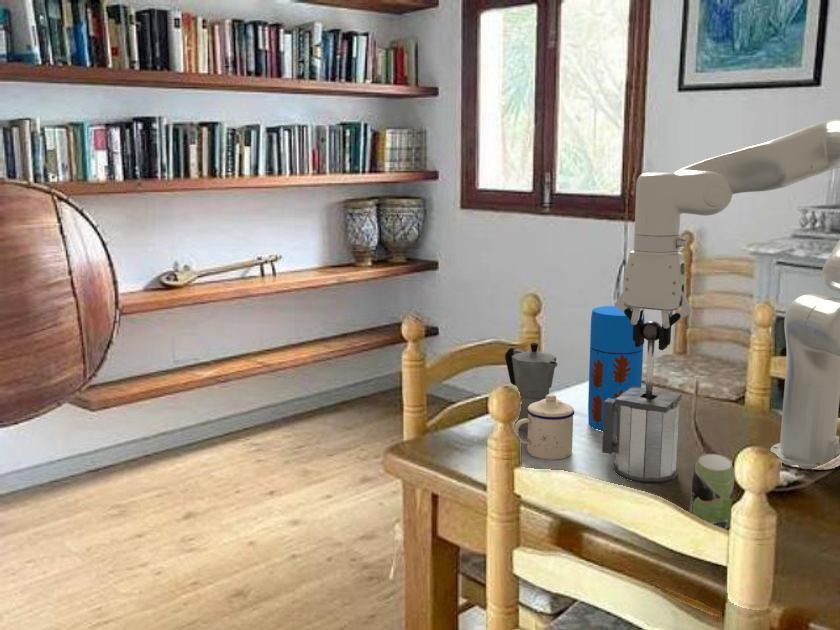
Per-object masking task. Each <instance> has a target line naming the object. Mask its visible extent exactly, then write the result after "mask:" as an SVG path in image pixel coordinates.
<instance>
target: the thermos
mask: <svg viewBox="0 0 840 630" xmlns="http://www.w3.org/2000/svg"><path fill="white" fill-rule="evenodd" d="M631 308H633V307H631ZM642 320H643V322H644V323H645V313H644V314H643V319H642ZM589 337H590V339H589V340H590V341H589V346H590V347H589V366H588V368H589V370H588V372H589V373H588V397H587V398H588V399H587V400H588V401H587V413H588V414H587V416H588V417H587V418H588V426H589V425H590V426H591V427H590V426H589V427H590V428H592V427H593V428H594V429H593V428H592V429H593V430H595V429H598V430H601V431H603V416H604V401H605V400H607V399H608V398H611V399H616V398H617V397H619V396H620V395H621V394H622V393H624V392H625V391H627V390H628V389H630V388H631V387H632V386H633V387H640V388H642V383H643V381H642V380H643V361H644V359H643V358H644V344H643V345H641V346H640V347H635V341H633V324H632V323H631V321H630V319H629V318H628V317H627V316H626V315H625V313H624V312H622V311H621V310H619V309H618V308H617V307H615V305H605V306H604V305H603V306H597V307H594V308H592V309H591V316H590V336H589ZM617 415H618V412H617ZM598 430H597V431H598ZM601 431H600V432H601Z"/></svg>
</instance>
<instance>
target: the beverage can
mask: <svg viewBox="0 0 840 630" xmlns="http://www.w3.org/2000/svg"><path fill="white" fill-rule="evenodd" d="M692 469H693V470H692V480H691V492H690V500H689V501H690V503H689V512H690V513H692V514H694V515H696V516H697V517H699V518H701V519H703V520H706V521H708V522H710V523H712V524H714V525H717V526H719V527H722V528H727V529H729V527H730V523H729V522H730V521H731V514H730V512H731V513H732V504H733V494H734V493H733V492H734V487H735V479H736V475H735V476H734V470H735V468H734V466H733V463H732V461H731V459H729V458H728V457H726V456H724V455H721V454H718V453H705V454H702V455H700V456H699V457H698V459H697V460H696V462H695V463H694V465H693V468H692Z"/></svg>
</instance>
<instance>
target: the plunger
mask: <svg viewBox="0 0 840 630" xmlns="http://www.w3.org/2000/svg"><path fill="white" fill-rule="evenodd" d="M661 327H662V324H660V323H659V322H657V321H655V320H650V321H646V322H644V325H643V327H642V330H641V332H642V335H643V337H644V340H646V341H647V351H646V353H647V354H646V355H647V356H646V357H647V358H646V373H645V377H646V379H645V388H646V393H645V398H648V399H652V391H653V390H654V388H653V387H654V385H653V384H654V369H655V367H654V366H655V347H656V345H655V344H656V341H659V329H660V328H661Z"/></svg>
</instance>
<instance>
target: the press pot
mask: <svg viewBox="0 0 840 630" xmlns="http://www.w3.org/2000/svg"><path fill="white" fill-rule="evenodd" d="M645 393H646V387H641V388H640V387H633V386H632V387H631V388H630V389H628V390H627V391H625V392H624V393H622V394H621V395H620V396H619V397H617V398H616V399H611V398H608V399H607V400H605V401H604V416H603V432H602V445H601V447H602V448H601V453H602V454H607V455H613V454H615V462H614V465H613V471H615V472H614V473H615V474H616V473H617V474H618V475H619V476H618V477H620V476H621V477H620V478H622V477H623V478H622V479H624V478H625V479H624V480H627V479H628V480H627V481H630V480H632V481H631V482H633V481H635V482H634V483H638V482H640V484H649V485H651V484H652V485H653V484H654V485H656V484H665V483H669V482H672V481H674V480H675V479H676V478H677V476H678V468H677V456H678V455H677V454H678V452H677V451H678V437H679V436H678V434H679V421H680V420H679V417H680V403H679V402H680V401H682V393H680V392H679V393H678V392H671V391H666V390H660V389H653V391H652V399H648V398H645ZM617 412H618V415H617ZM617 474H616V475H617Z"/></svg>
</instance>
